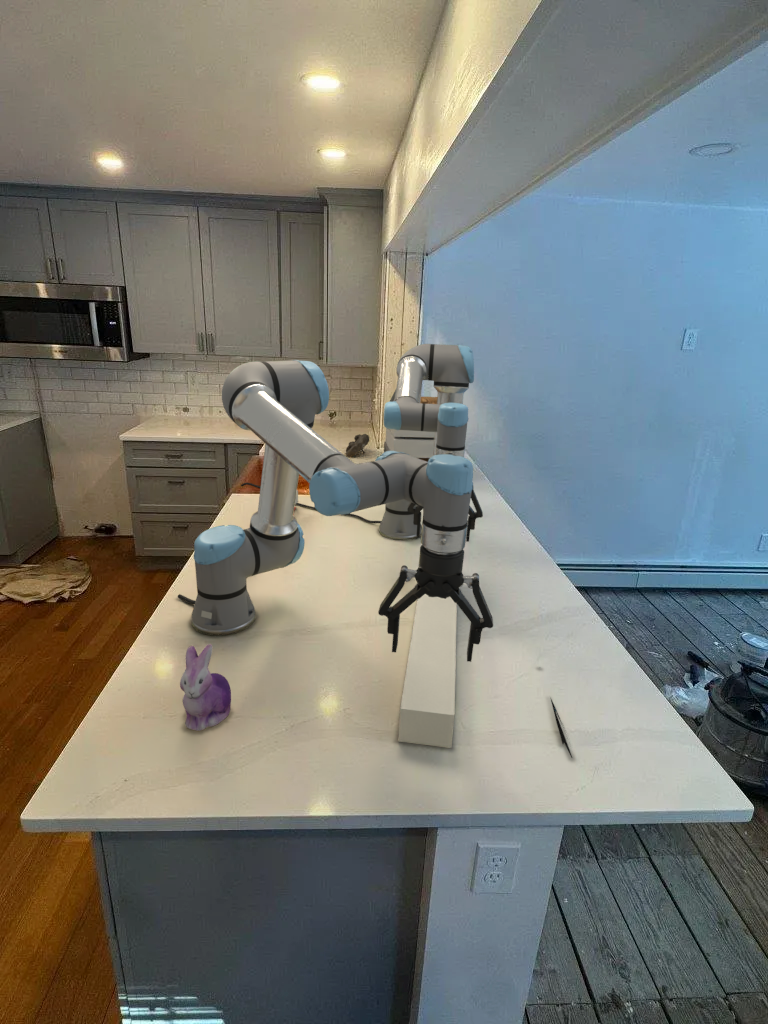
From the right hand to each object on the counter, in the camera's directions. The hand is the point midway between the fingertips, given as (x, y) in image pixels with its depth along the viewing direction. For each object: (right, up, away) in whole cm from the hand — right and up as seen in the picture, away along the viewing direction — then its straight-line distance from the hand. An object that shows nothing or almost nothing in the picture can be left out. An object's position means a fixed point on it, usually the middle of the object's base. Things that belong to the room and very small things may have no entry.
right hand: (442, 537), depth 156 cm
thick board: (-4, -24, -21) cm, 33 cm away
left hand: (-7, -19, -53) cm, 56 cm away
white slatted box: (+1, +26, +119) cm, 122 cm away
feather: (+18, -33, -42) cm, 56 cm away
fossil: (-31, +39, +151) cm, 159 cm away
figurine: (-50, -32, -48) cm, 76 cm away
